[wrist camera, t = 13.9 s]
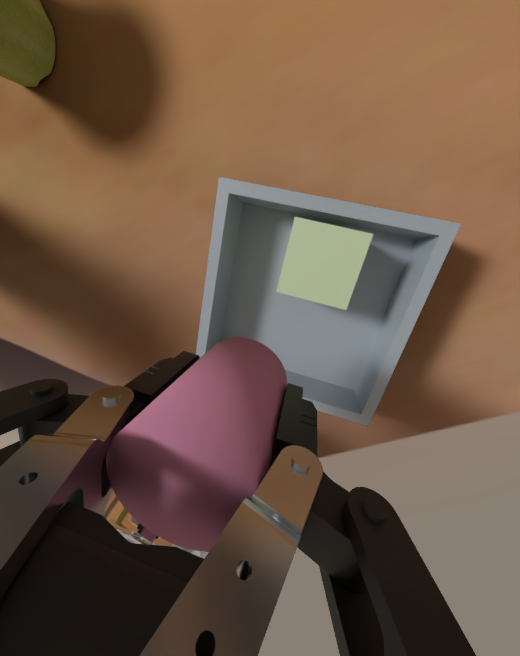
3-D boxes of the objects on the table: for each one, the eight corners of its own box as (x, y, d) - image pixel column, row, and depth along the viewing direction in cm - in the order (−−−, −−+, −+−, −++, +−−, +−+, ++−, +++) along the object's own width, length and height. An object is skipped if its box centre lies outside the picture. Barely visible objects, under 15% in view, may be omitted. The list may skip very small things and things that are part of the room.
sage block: (299, 224, 19) (294, 216, 14) (359, 238, 18) (373, 234, 14) (284, 283, 20) (276, 291, 16) (339, 297, 20) (346, 310, 15)
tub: (213, 352, 24) (193, 371, 20) (238, 192, 20) (219, 176, 16) (358, 395, 22) (368, 426, 18) (427, 230, 18) (460, 223, 14)
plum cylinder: (196, 401, 13) (106, 515, 7) (207, 326, 11) (104, 397, 6) (275, 428, 12) (242, 573, 7) (297, 352, 11) (278, 458, 5)
